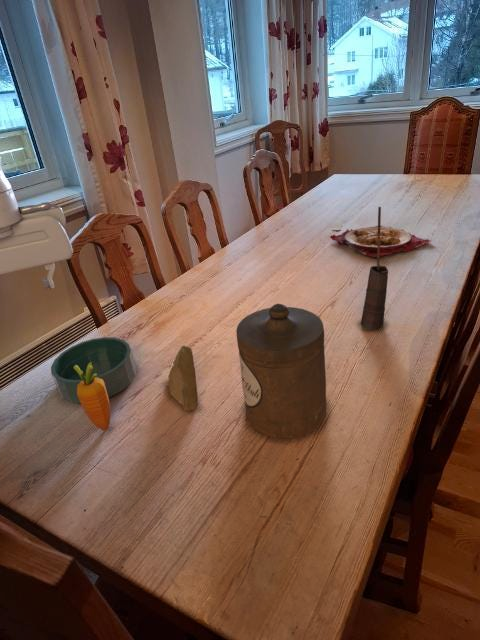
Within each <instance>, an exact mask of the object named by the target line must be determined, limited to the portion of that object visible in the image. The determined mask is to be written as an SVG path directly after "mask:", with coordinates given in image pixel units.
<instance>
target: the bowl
mask: <svg viewBox="0 0 480 640" xmlns="http://www.w3.org/2000/svg"><path fill="white" fill-rule="evenodd" d="M89 363H92V367H93V370H92V374H91V376H92V375H93V374H97V376H96V377H97V378H100V379H102V380H103V381H104V383H105V387H106V390H107V394H108V398H111V397H113V396H115V395H117V394H119V393H120V392H122V391H123V390H124V389H126V388H127V387H128V386H129V385H130V384H131V383H132V382H133V380H134V378H135V377H136V374H137V365H136V363H135V359H134V355H133V351H132V348H131V346H130V344H129V343H128V342H127V341H126V340H124V339H123V338H118V337H110V336H108V337H107V336H104V337H96V338H91V339H87V340H84V341H82V342H79V343H75V344H74V345H72V346H70V347H68V348H67V349H65V350H64V351H62V352H61V353H60V354H59V355H57V357H56V358H55V359H54V360H53V362H52V364H51V366H50V374H51V377H52V379H53V381H54V383H55V386H56V389H57V391H58V394H59V395H60V396H61V397H62V399H63V400H66V401H68V402H71V403H75V404H81V403H80V400H79V398H78V395H77V385H78V384H79V383H80V382H82V381H83V380H82V379H81V378H80V376H79V374H78V372H77V371H76V370H75V369H74V366H75V365H77V366H78V367H79V368H80V369H81V371H83V373H84V376H85V377H86V370H87V366H88V364H89Z"/></svg>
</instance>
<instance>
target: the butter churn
mask: <svg viewBox="0 0 480 640" xmlns="http://www.w3.org/2000/svg"><path fill="white" fill-rule="evenodd" d="M381 217H382V207H381V206H378V209H377V227H378V248H377V249H378V250H377V251H378V252H377V257H376V265H371V266H370V268H369V273H368V277H367V278H368V279H367V284H366V285H367V286H366V289H365V298H364V303H363V304H364V305H363V307H362V308H363V309H362V313H361V320H360V325H361V326H362V328H363V329H365V330H368V331H378V330H380V329H382V327H383V326H384V322H385V320H384V319H385V311H386V299H387V292H388V291H387V290H388V289H387V288H388V280H389V269H388V267H387V266H385V265H380V258H381V256H380V226H381V223H382V222H381V220H382V219H381Z"/></svg>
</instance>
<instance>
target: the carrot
mask: <svg viewBox="0 0 480 640" xmlns="http://www.w3.org/2000/svg"><path fill="white" fill-rule="evenodd" d="M74 369H75V370H76V371H77V372H78V374H79V376H80V378H81V379H82V380H83V381H82V382H80V383H79V384H78V385H77V395H78V398H79V400H80V403H79V404H80V405H81V407H82V409H83V412H84V413H85V414H86V415H85V416H87V418H88V419H89V421H90V422H91V423H92V424H93V425H94V426H95V427H96V428H97V429H99V430H101V431H104V432H107V430H109V426H110V424H111V406H110V399H109V398H110V397H109V398H108V394H107V390H106V387H105V383H104V381H103V380H102V379H100V378H97V377H96V376H97V374H93V375H92V376H91V374H92V370H93V367H92V363H89V364H88V366H87V370H86V377H85V376H84V373H83V371H81V369H80V368H79V367H78V366H77V365H75V366H74Z"/></svg>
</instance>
